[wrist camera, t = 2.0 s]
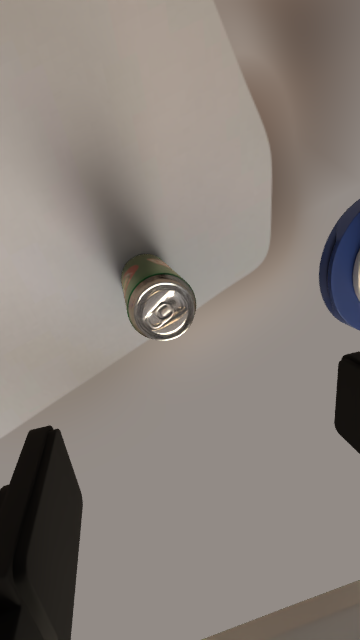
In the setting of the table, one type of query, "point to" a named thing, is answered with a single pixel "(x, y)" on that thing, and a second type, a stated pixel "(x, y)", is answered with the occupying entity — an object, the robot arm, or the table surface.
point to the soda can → (157, 298)
